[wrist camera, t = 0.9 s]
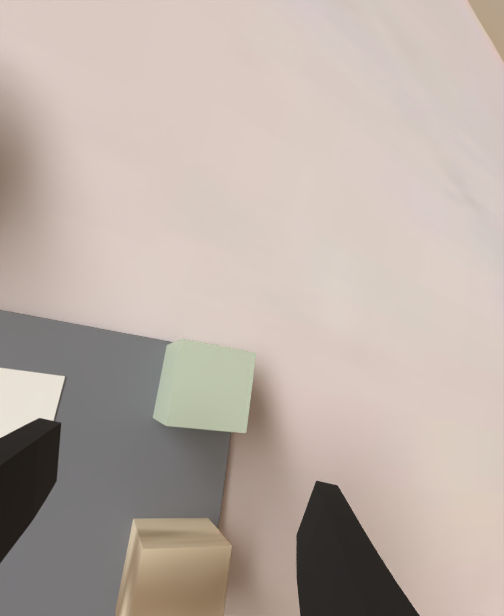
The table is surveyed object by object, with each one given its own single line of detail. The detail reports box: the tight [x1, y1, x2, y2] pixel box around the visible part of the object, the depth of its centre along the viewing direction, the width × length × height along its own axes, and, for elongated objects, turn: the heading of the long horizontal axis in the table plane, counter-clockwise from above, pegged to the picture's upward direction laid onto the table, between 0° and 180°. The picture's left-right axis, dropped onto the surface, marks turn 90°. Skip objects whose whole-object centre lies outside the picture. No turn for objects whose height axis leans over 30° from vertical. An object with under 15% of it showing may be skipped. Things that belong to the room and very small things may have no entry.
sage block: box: [153, 339, 256, 433], centre depth 21 cm, size 4×4×4 cm
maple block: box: [115, 518, 232, 616], centre depth 18 cm, size 4×4×4 cm
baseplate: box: [0, 310, 231, 616], centre depth 19 cm, size 15×17×1 cm
